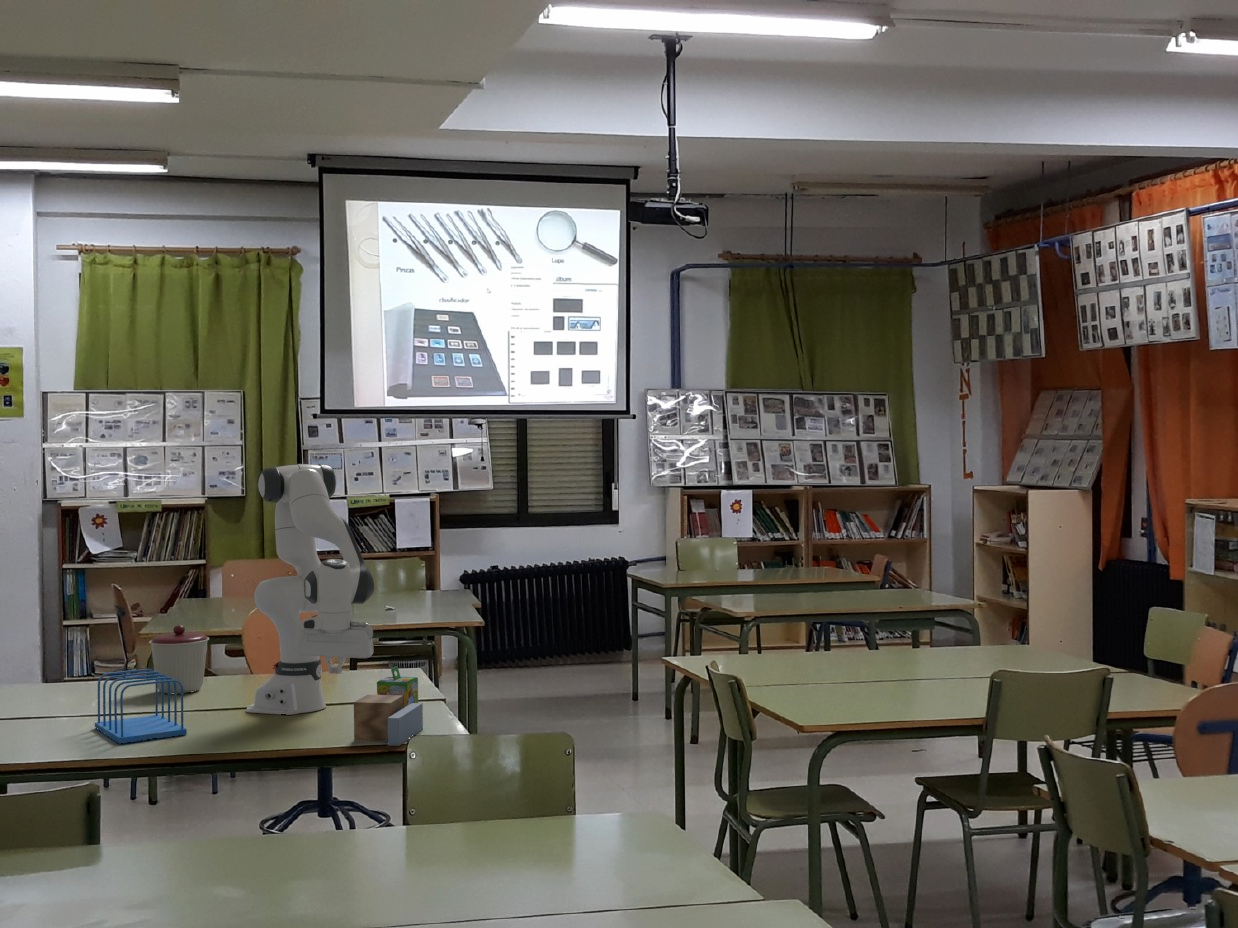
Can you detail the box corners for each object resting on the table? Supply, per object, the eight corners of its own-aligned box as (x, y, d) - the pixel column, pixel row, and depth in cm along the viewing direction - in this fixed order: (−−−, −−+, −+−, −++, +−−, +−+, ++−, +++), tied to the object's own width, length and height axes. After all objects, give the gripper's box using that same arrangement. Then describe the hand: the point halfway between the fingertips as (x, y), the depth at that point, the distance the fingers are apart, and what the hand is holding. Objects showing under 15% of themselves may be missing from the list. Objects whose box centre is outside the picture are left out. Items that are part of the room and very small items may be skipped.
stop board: (388, 745, 317) (387, 717, 316) (412, 728, 335) (411, 702, 335) (399, 745, 316) (398, 718, 316) (422, 728, 335) (422, 703, 335)
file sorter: (187, 735, 331) (186, 678, 331) (119, 745, 321) (118, 686, 321) (159, 720, 352) (158, 666, 351) (94, 729, 341) (93, 673, 341)
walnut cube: (354, 740, 323) (353, 702, 323) (367, 731, 333) (367, 694, 333) (391, 741, 321) (390, 702, 321) (403, 732, 331) (403, 695, 331)
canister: (167, 685, 404) (166, 621, 404) (220, 686, 402) (219, 621, 401) (138, 696, 386) (137, 629, 386) (193, 697, 384) (192, 629, 383)
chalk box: (408, 724, 341) (407, 670, 341) (376, 723, 343) (375, 669, 343) (420, 717, 350) (419, 664, 350) (389, 716, 352) (388, 663, 352)
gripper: (377, 620, 330) (377, 672, 331) (304, 618, 333) (304, 669, 334) (368, 624, 324) (368, 677, 324) (294, 622, 327) (294, 674, 328)
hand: (335, 673), depth 329 cm, fingers closed
